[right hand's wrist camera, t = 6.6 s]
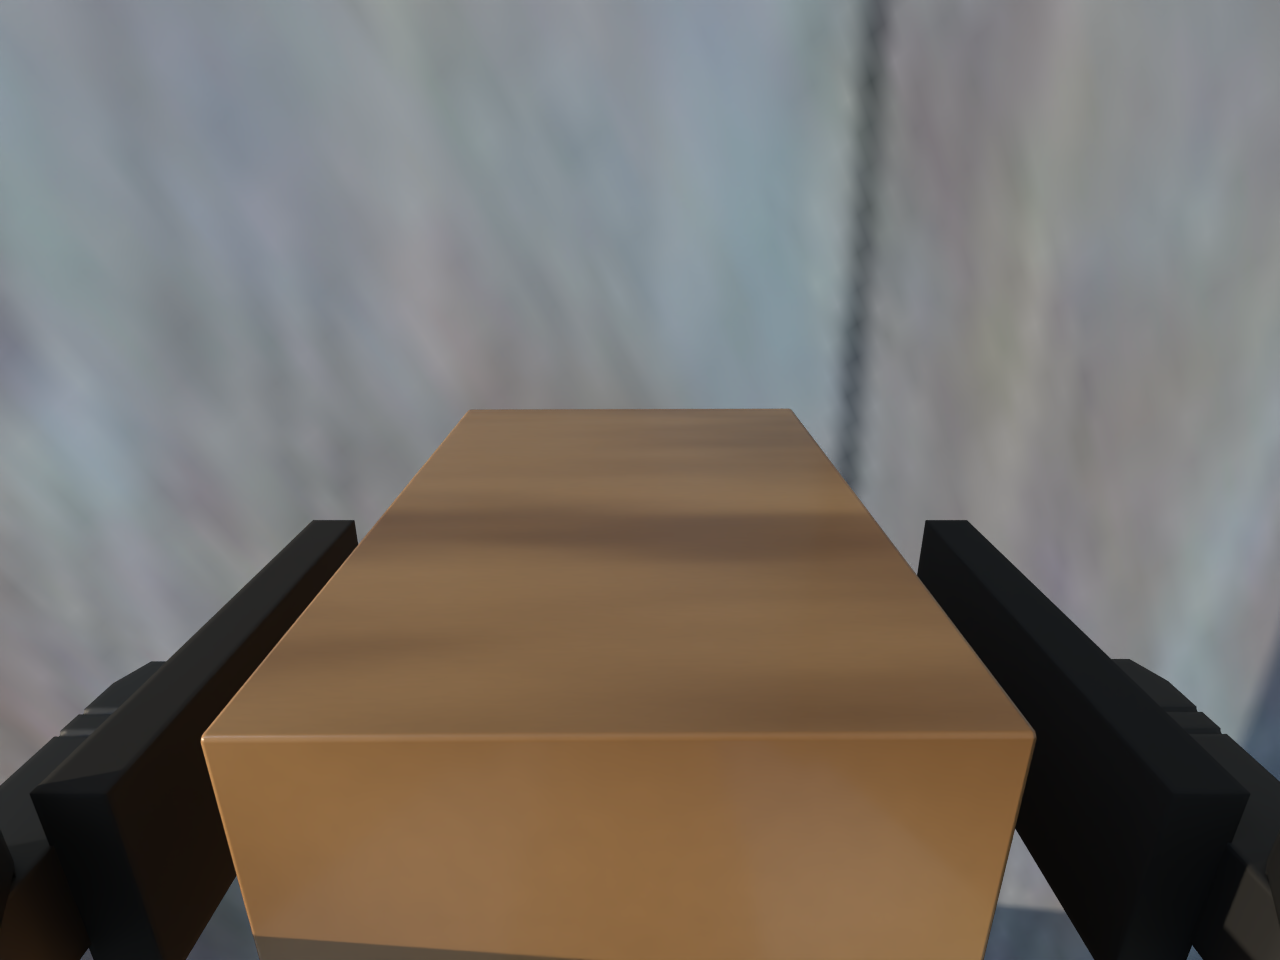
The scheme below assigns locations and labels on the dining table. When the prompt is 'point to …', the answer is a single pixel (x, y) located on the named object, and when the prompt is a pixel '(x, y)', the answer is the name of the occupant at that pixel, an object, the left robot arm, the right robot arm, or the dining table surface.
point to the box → (622, 716)
